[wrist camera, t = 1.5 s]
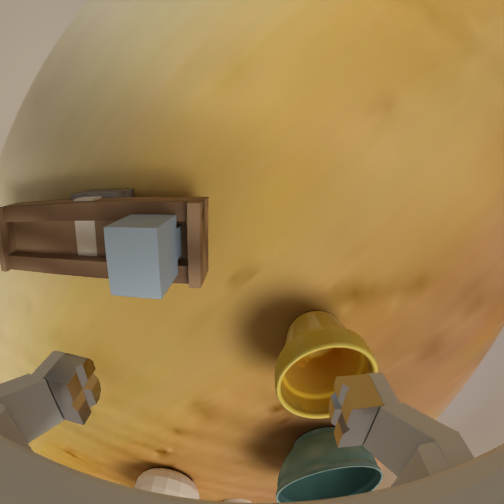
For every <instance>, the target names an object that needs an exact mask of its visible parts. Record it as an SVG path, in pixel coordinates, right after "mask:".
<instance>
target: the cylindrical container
mask: <svg viewBox="0 0 504 504" xmlns="http://www.w3.org/2000/svg"><path fill="white" fill-rule="evenodd" d="M223 502H241V503H252V502H250V501H248V500H244V499H228V500H225V501H223Z"/></svg>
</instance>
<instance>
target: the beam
mask: <svg viewBox="0 0 504 504" xmlns="http://www.w3.org/2000/svg"><path fill="white" fill-rule="evenodd" d="M131 214H160V215H176V223H177V225H181V238H182V255H181V256H180V258H179V259H178V275H177V276H176V278H175V279H174V281H173V282H172V283H183V284H189V288H201V287H202V284H203V282H204V279H205V277H206V274H207V272H208V197H134V189H107V190H88V191H84V192H79V193H75V194H71V199H66V200H49V201H34V202H21V203H15V204H11V205H7V206H4V207H0V263H1V268H2V271H9V270H10V269H15V270H24V271H33V272H42V273H52V274H63V275H73V276H85V277H96V278H109V276H108V268H107V259H106V250H105V239H104V227H105V226H107V225H109V224H111V223H113V222H116V221H118V220H120V219H122V218H124V217H126V216H128V215H131Z"/></svg>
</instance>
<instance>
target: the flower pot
mask: <svg viewBox="0 0 504 504" xmlns="http://www.w3.org/2000/svg"><path fill="white" fill-rule="evenodd" d="M334 430H335V427H325V428H319V429H315V430H312V431H309V432H307V433H305V434H303V435H302V436H301V437H299V438H298V439H297V440H296V442H295V443H294V447H293V449H292V450H291V451H290V453H289V454H288V456H287V457H286V459H285V460H284V462H283V464H282V467H281V469H280V473H279V477H278V489H277V492H276V500H277V502H278V503H282V502H300V501H312V500H322V499H330V498H337V497H344V496H350V495H356V494H361V493H367V492H371V491H372V490H373V489H375V488H376V487H377V486H378V485H379V483H380V482H381V480H382V477H383V474H382V472H381V470H380V468H379V467H378V466H377V463H376V461H375V459H374V457H373V455H372V454H371V453H370V452H369V451H368V450H367V449H365V448H364V447H363V445H360V446H351V447H341V448H338V447H337V443H336V440H335V436H334Z"/></svg>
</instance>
